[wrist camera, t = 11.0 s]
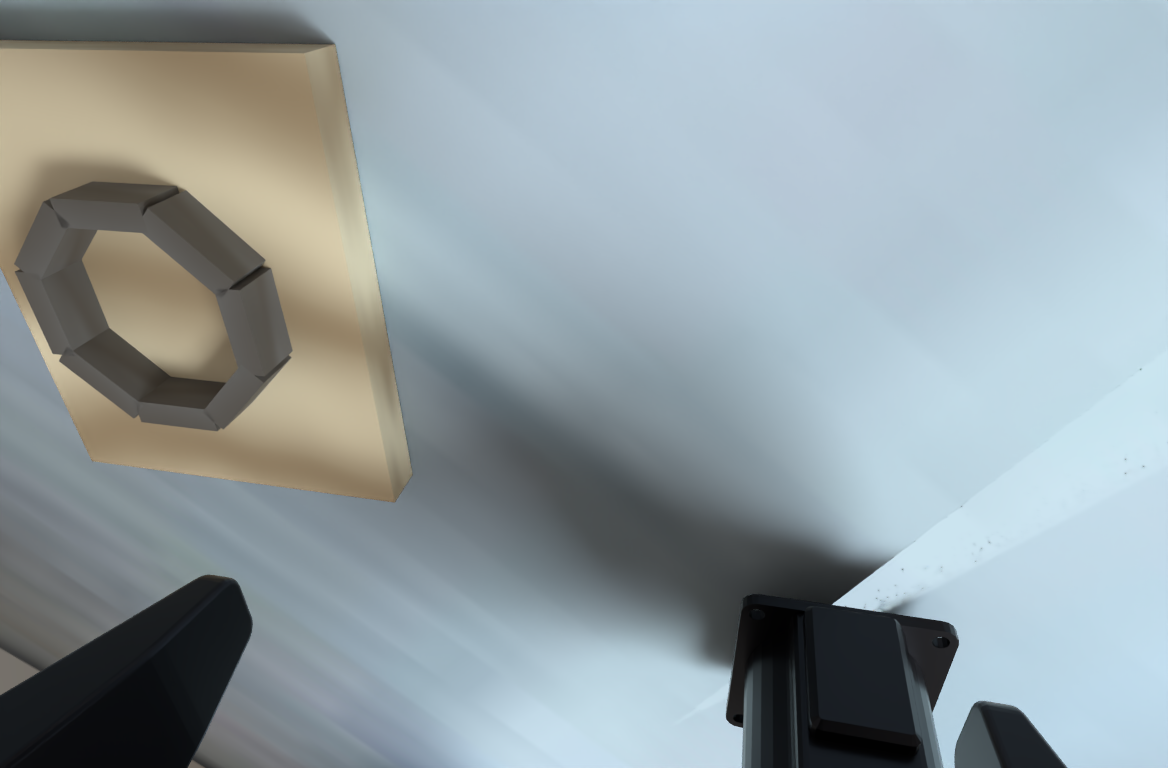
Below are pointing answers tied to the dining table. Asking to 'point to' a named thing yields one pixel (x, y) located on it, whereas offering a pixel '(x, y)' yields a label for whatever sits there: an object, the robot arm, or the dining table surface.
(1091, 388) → the dining table surface
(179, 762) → the robot arm
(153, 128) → the eye plate
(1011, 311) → the dining table surface
